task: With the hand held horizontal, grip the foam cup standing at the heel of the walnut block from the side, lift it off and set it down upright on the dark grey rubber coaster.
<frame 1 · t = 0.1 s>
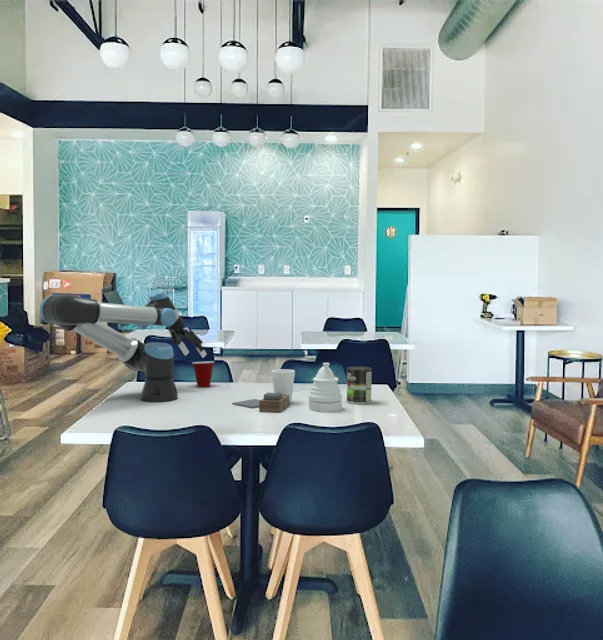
hand: (195, 355, 289), 15 cm above the table, tool tilted 35°, fingers open, 13 cm apart
honey pot: (325, 409, 238), on the table
plastic cup: (203, 386, 292), on the table
foam cup: (283, 402, 251), on the table
coffee can: (359, 402, 252), on the table
coaster: (253, 404, 247), on the table
walnut block: (274, 408, 238), on the table
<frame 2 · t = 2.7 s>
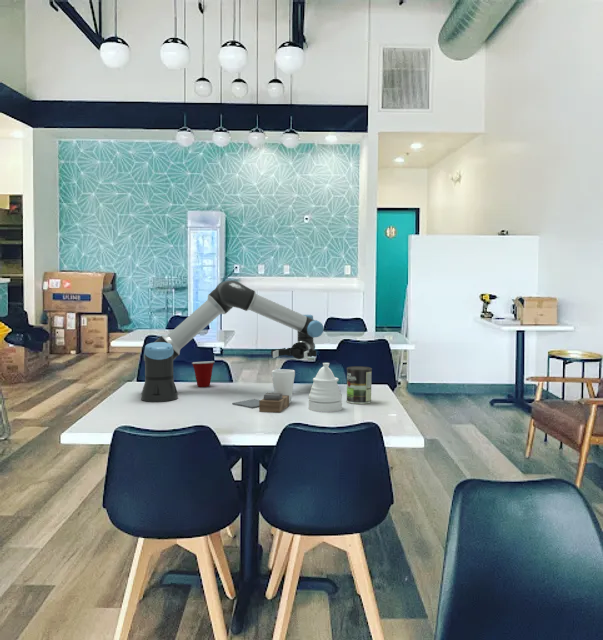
hand: (289, 355, 259), 18 cm above the table, tool horizontal, fingers open, 13 cm apart
nothing on the table moved.
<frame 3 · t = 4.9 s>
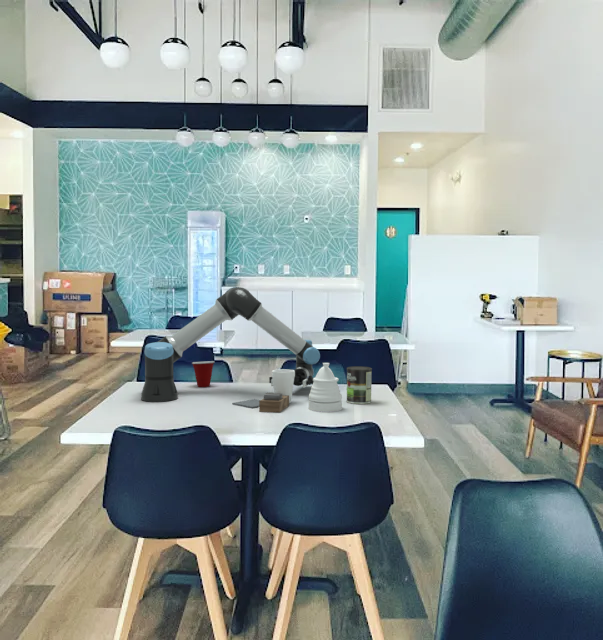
hand: (287, 383, 255), 7 cm above the table, tool horizontal, fingers open, 13 cm apart
nothing on the table moved.
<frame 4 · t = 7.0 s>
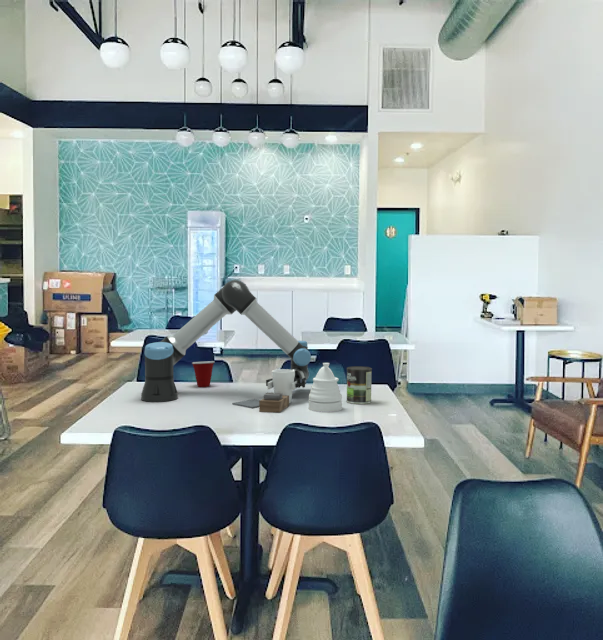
hand: (280, 386, 246), 7 cm above the table, tool horizontal, fingers closed on foam cup, 9 cm apart
foam cup: (283, 402, 251), on the table, touching gripper
everything else where it was.
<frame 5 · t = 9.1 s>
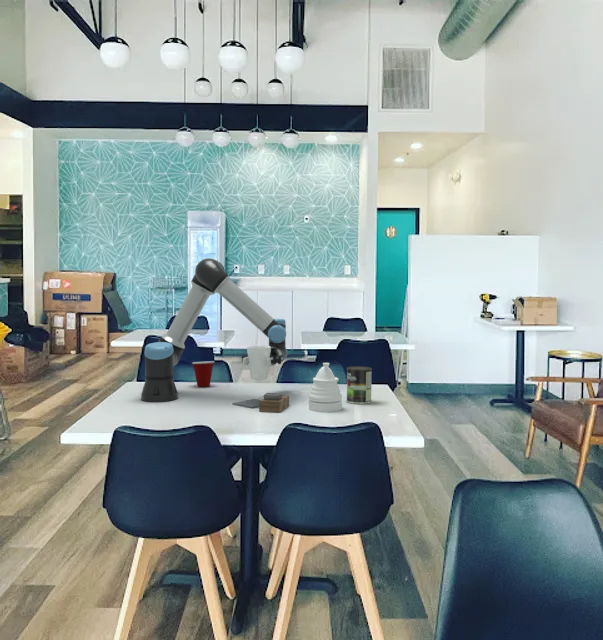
hand: (255, 362, 242), 17 cm above the table, tool horizontal, fingers closed on foam cup, 9 cm apart
foam cup: (258, 379, 247), point 10 cm above the table, touching gripper
everything else where it was.
when the fingers open (9 cm above the table, at t = 11.4 s): foam cup drops 1 cm, resting on coaster.
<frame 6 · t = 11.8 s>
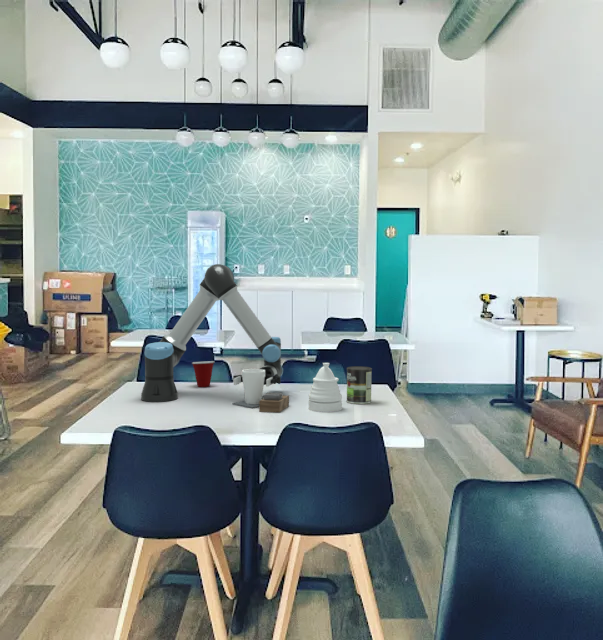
hand: (250, 382, 243), 9 cm above the table, tool horizontal, fingers open, 13 cm apart
foam cup: (253, 403, 247), resting on coaster
everything else where it was.
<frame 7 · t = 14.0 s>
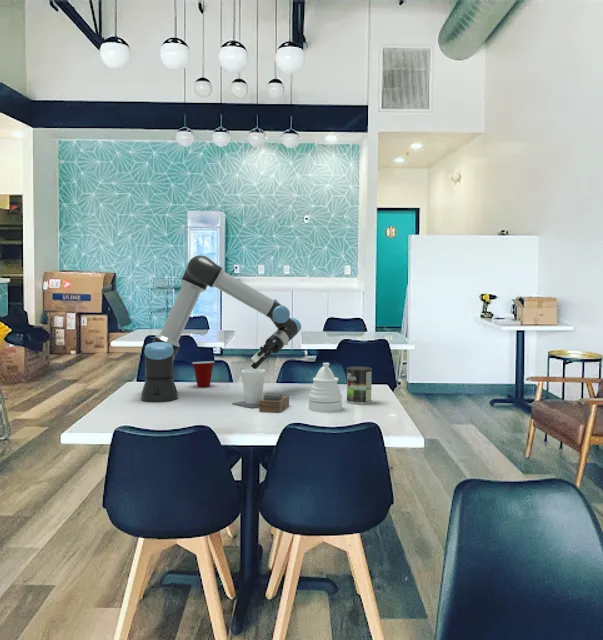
hand: (248, 368, 261), 12 cm above the table, tool tilted 60°, fingers open, 13 cm apart
nothing on the table moved.
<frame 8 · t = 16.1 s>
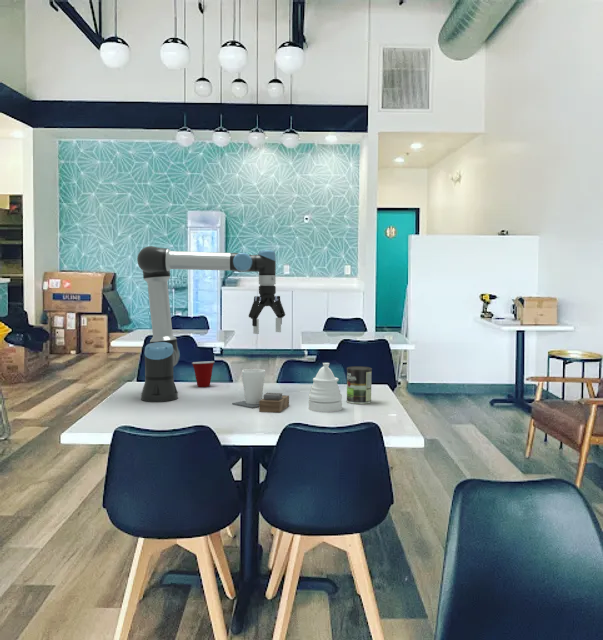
hand: (267, 333, 273), 27 cm above the table, tool pointing down, fingers open, 13 cm apart
nothing on the table moved.
at the end: foam cup inside the target area on the coaster (0.0 cm from its centre), point 0.4 cm above the coaster's base; foam cup tilted 0°; the gripper is holding nothing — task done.
